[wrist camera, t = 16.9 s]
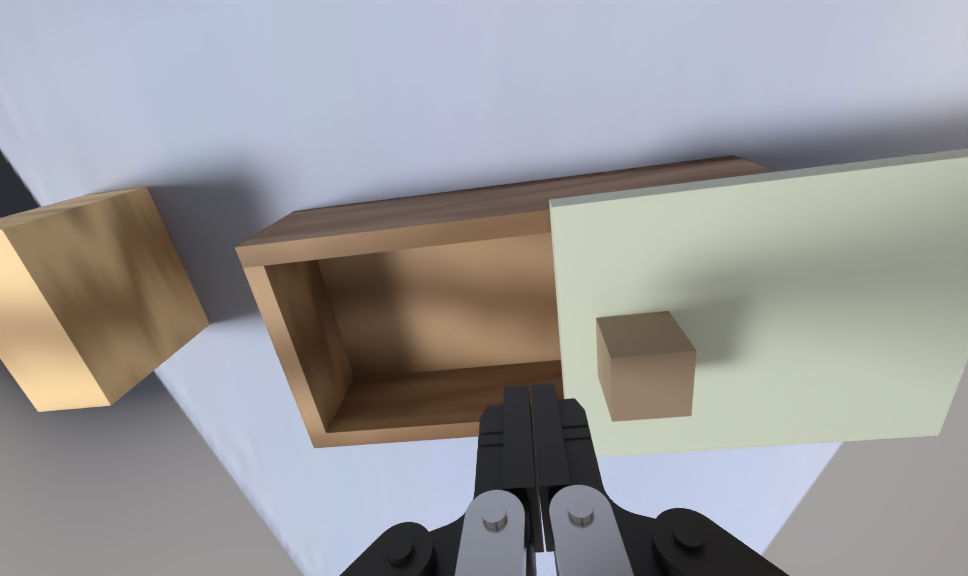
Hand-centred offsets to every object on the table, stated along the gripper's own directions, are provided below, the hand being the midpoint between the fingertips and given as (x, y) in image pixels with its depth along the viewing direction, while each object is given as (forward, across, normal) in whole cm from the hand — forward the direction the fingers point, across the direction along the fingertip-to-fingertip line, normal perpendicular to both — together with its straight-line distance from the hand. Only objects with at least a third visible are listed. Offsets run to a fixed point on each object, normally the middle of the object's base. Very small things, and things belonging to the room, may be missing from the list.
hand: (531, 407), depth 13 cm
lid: (+7, -10, +3) cm, 13 cm away
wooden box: (+14, 0, +3) cm, 14 cm away
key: (+14, +22, -1) cm, 26 cm away
